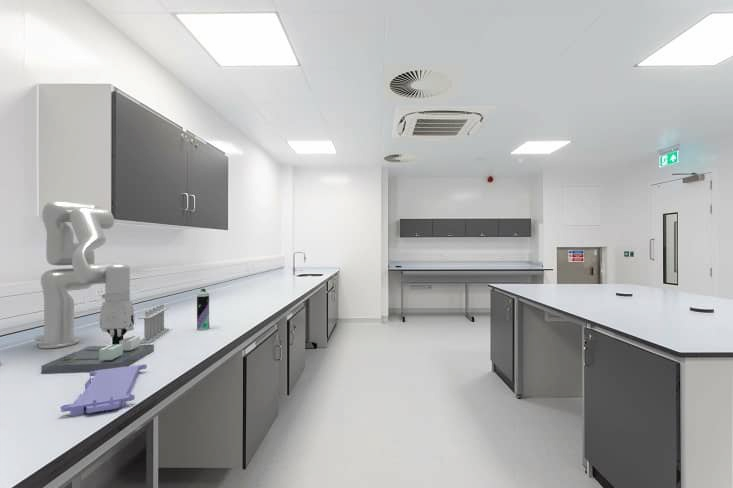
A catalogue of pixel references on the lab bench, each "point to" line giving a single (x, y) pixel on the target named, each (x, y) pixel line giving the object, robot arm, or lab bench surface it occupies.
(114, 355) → the fader green
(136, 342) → the block
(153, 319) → the test tube rack
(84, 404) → the computer part
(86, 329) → the lab bench surface
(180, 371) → the lab bench surface
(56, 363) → the dark grey flat board
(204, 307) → the spray can
